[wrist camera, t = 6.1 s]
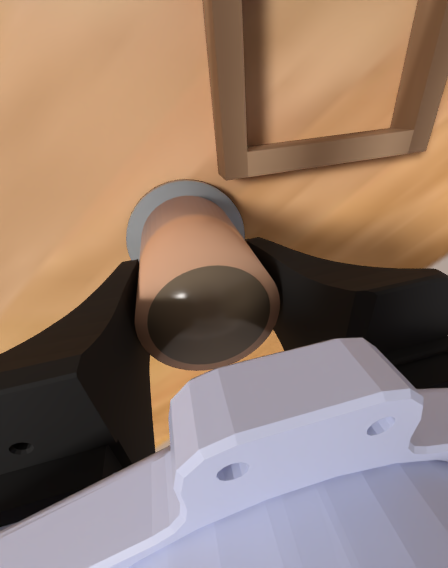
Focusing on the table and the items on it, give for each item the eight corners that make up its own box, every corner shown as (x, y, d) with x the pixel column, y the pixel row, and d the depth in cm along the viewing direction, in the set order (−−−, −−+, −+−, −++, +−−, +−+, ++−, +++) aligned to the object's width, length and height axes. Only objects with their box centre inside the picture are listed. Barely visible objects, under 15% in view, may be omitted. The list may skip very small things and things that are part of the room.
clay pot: (234, 192, 13) (288, 246, 8) (233, 276, 15) (273, 359, 10) (133, 198, 12) (119, 264, 7) (149, 286, 14) (147, 381, 9)
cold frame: (461, -93, 10) (505, -121, 9) (402, 147, 14) (425, 150, 13) (193, -93, 9) (201, -128, 7) (218, 174, 13) (226, 180, 12)
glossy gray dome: (238, 170, 13) (241, 172, 13) (244, 276, 16) (246, 280, 16) (110, 189, 12) (109, 192, 12) (143, 296, 16) (143, 301, 15)
